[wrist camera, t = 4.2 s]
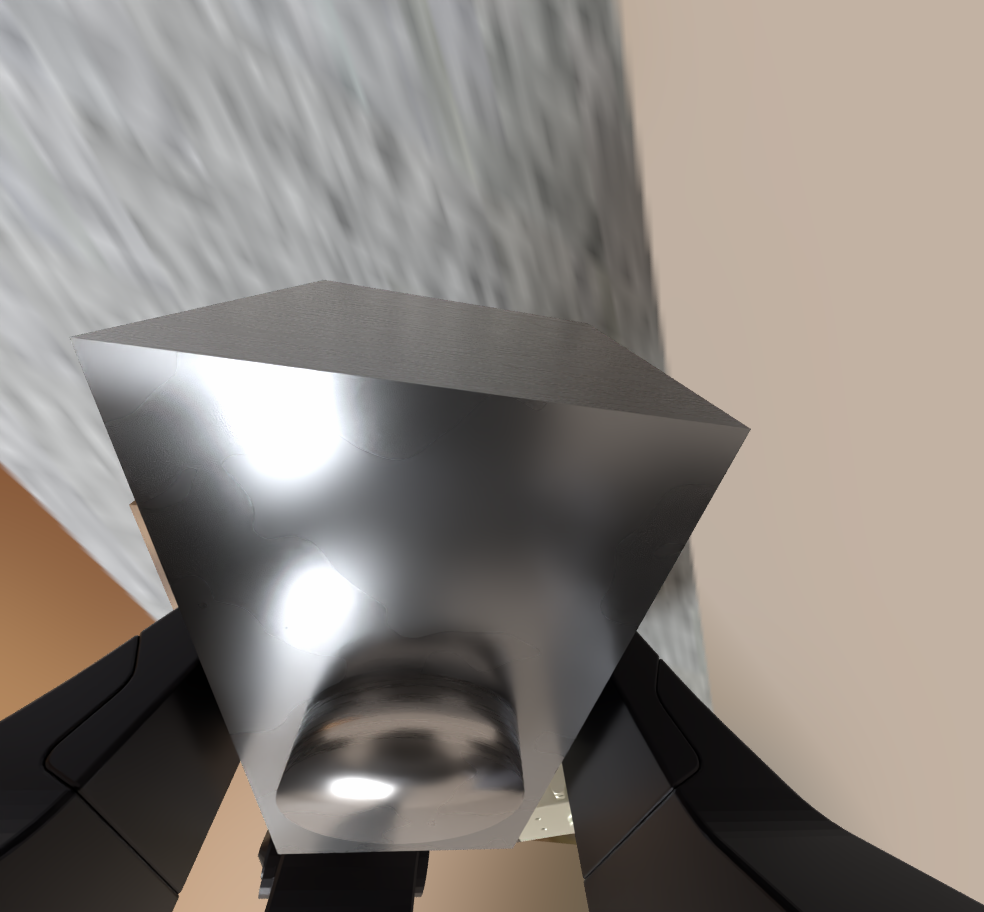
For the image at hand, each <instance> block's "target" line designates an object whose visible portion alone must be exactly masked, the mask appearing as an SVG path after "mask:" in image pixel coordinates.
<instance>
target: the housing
mask: <svg viewBox="0 0 984 912" xmlns="http://www.w3.org/2000/svg"><path fill="white" fill-rule="evenodd" d="M70 340H71V342H72V345H73V347H74V350H75V352H76V355H77V357H78V360H79V362H80V365H81V367H82V370H83V372H84V375H85V377H86V380H87V382H88V385H89V387H90V389H91V392H92V394H93V397H94V399H95V402H96V404H97V407H98V409H99V412H100V414H101V417H102V419H103V422H104V424H105V427H106V429H107V432H108V434H109V437H110V439H111V441H112V444H113V446H114V449H115V451H116V454H117V456H118V459H119V461H120V464H121V466H122V469H123V471H124V474H125V476H126V479H127V481H128V484H129V486H130V489H131V491H132V493H133V496H134V498H135V501H136V503H137V506H138V508H139V511H140V513H141V516H142V518H143V521H144V523H145V526H146V528H147V531H148V533H149V536H150V538H151V541H152V543H153V545H154V548H155V550H156V553H157V555H158V558H159V560H160V563H161V565H162V568H163V570H164V573H165V575H166V578H167V580H168V583H169V585H170V588H171V590H172V593H173V595H174V597H175V600H176V602H177V605H178V607H179V610H180V612H181V615H182V617H183V620H184V622H185V625H186V627H187V630H188V632H189V635H190V637H191V640H192V642H193V645H194V647H195V649H196V652H197V654H198V657H199V659H200V662H201V664H202V667H203V669H204V672H205V674H206V677H207V679H208V682H209V684H210V687H211V689H212V692H213V694H214V697H215V699H216V701H217V704H218V706H219V709H220V711H221V714H222V716H223V719H224V721H225V724H226V726H227V729H228V731H229V734H230V736H231V739H232V741H233V744H234V746H235V749H236V751H237V754H238V756H239V758H240V761H241V763H242V766H243V768H244V771H245V773H246V776H247V778H248V781H249V783H250V786H251V788H252V791H253V793H254V796H255V798H256V801H257V803H258V806H259V808H260V810H261V813H262V815H263V818H264V820H265V823H266V825H267V828H268V830H269V833H270V835H271V838H272V840H273V843H274V845H275V848H276V850H277V853H278V854H304V853H344V852H385V851H425V850H462V849H463V850H466V849H504V848H505V849H506V848H513V847H514V845H515V844H516V842H517V840H518V838H519V837H520V835H521V833H522V831H523V829H524V828H525V826H526V824H527V822H528V821H529V819H530V817H531V815H532V814H533V812H534V810H535V808H536V807H537V805H538V803H539V801H540V800H541V798H542V796H543V794H544V793H545V791H546V789H547V787H548V785H549V784H550V782H551V780H552V778H553V777H554V775H555V773H556V771H557V770H558V768H559V766H560V764H561V763H562V761H563V759H564V757H565V756H566V754H567V752H568V750H569V748H570V747H571V745H572V743H573V741H574V740H575V738H576V736H577V734H578V733H579V731H580V729H581V727H582V726H583V724H584V722H585V720H586V719H587V717H588V715H589V713H590V711H591V710H592V708H593V706H594V704H595V703H596V701H597V699H598V697H599V696H600V694H601V692H602V690H603V689H604V687H605V685H606V683H607V682H608V680H609V678H610V676H611V674H612V673H613V671H614V669H615V667H616V666H617V664H618V662H619V660H620V659H621V657H622V655H623V653H624V652H625V650H626V648H627V646H628V645H629V643H630V641H631V639H632V637H633V636H634V634H635V632H636V630H637V629H638V627H639V625H640V623H641V622H642V620H643V618H644V616H645V615H646V613H647V611H648V609H649V608H650V606H651V604H652V602H653V601H654V599H655V597H656V595H657V593H658V592H659V590H660V588H661V586H662V585H663V583H664V581H665V579H666V578H667V576H668V574H669V572H670V571H671V569H672V567H673V565H674V564H675V562H676V560H677V558H678V556H679V555H680V553H681V551H682V549H683V548H684V546H685V544H686V542H687V541H688V539H689V537H690V535H691V534H692V532H693V530H694V528H695V527H696V525H697V523H698V521H699V519H700V518H701V516H702V514H703V512H704V511H705V509H706V507H707V505H708V504H709V502H710V500H711V498H712V497H713V495H714V493H715V491H716V490H717V488H718V486H719V484H720V482H721V481H722V479H723V477H724V475H725V474H726V472H727V470H728V468H729V467H730V465H731V463H732V461H733V460H734V458H735V456H736V454H737V453H738V451H739V449H740V447H741V445H742V444H743V442H744V440H745V438H746V437H747V435H748V433H749V431H750V430H751V429H750V428H748V427H747V426H745V425H744V424H742V423H741V422H739V421H738V420H736V419H734V418H733V417H731V416H730V415H728V414H727V413H725V412H724V411H722V410H721V409H719V408H718V407H716V406H714V405H713V404H711V403H709V402H708V401H707V400H705V399H704V398H702V397H700V396H699V395H697V394H696V393H694V392H693V391H691V390H690V389H688V388H687V387H685V386H683V385H682V384H680V383H679V382H677V381H676V380H674V379H673V378H671V377H670V376H668V375H666V374H665V373H663V372H662V371H660V370H659V369H657V368H656V367H654V366H653V365H651V364H649V363H648V362H646V361H645V360H643V359H642V358H640V357H639V356H637V355H636V354H634V353H632V352H631V351H629V350H628V349H626V348H625V347H623V346H622V345H620V344H619V343H617V342H615V341H614V340H612V339H611V338H609V337H608V336H606V335H605V334H603V333H602V332H600V331H598V330H597V329H595V328H594V327H592V326H591V325H589V324H588V323H582V322H576V321H569V320H563V319H557V318H551V317H545V316H539V315H533V314H527V313H521V312H515V311H509V310H503V309H497V308H491V307H485V306H479V305H473V304H467V303H461V302H454V301H448V300H442V299H436V298H430V297H424V296H418V295H412V294H406V293H400V292H394V291H388V290H382V289H376V288H370V287H364V286H358V285H352V284H346V283H339V282H333V281H327V280H322V281H318V282H313V283H309V284H304V285H300V286H295V287H291V288H286V289H282V290H277V291H273V292H269V293H264V294H260V295H255V296H251V297H246V298H242V299H237V300H233V301H228V302H224V303H219V304H215V305H211V306H206V307H202V308H197V309H193V310H188V311H184V312H179V313H175V314H170V315H166V316H161V317H157V318H153V319H148V320H144V321H139V322H135V323H130V324H126V325H121V326H117V327H112V328H108V329H103V330H99V331H94V332H90V333H86V334H81V335H77V336H72V337H70Z"/></svg>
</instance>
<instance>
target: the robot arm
mask: <svg viewBox="0 0 984 912" xmlns="http://www.w3.org/2000/svg"><path fill="white" fill-rule="evenodd" d="M239 763H240V758H239V756H238V754H237V751H236V749H235V746H234V744H233V741H232V739H231V736H230V734H229V731H228V729H227V726H226V724H225V721H224V719H223V716H222V714H221V711H220V709H219V706H218V704H217V701H216V699H215V697H214V694H213V692H212V689H211V687H210V684H209V682H208V679H207V677H206V674H205V672H204V669H203V667H202V664H201V662H200V659H199V657H198V654H197V652H196V649H195V647H194V645H193V642H192V640H191V637H190V635H189V632H188V630H187V627H186V625H185V622H184V620H183V617H182V615H181V612H180V610H179V607H177V608H176V609H174V610H173V611H171V612H170V613H168V614H167V615H166V616H164V617H163V618H161V619H160V620H158V621H157V622H155V623H154V624H152V625H151V626H149V627H148V628H146V629H145V630H143V631H142V632H141V633H140V636H138V635H137V636H134V637H133V638H131V639H130V640H128V641H127V642H125V643H124V644H122V645H121V646H119V647H118V648H116V649H115V650H114V651H112V652H110V653H109V654H107V655H106V656H104V657H103V658H101V659H100V660H98V661H97V662H95V663H94V664H92V665H90V666H89V667H87V668H86V669H84V670H83V671H81V672H80V673H78V674H77V675H75V676H74V677H72V678H70V679H69V680H67V681H65V682H64V683H62V684H61V685H59V686H57V687H56V688H54V689H53V690H51V691H49V692H48V693H46V694H44V695H43V696H41V697H40V698H38V699H36V700H35V701H33V702H31V703H30V704H28V705H26V706H25V707H23V708H21V709H20V710H18V711H17V712H15V713H13V714H12V715H10V716H8V717H6V718H5V719H3V720H1V721H0V912H172V911H173V909H174V907H175V904H176V902H177V900H178V898H179V895H178V894H179V893H180V892H181V890H182V888H183V886H184V884H185V882H186V880H187V877H188V875H189V873H190V871H191V869H192V866H193V864H194V862H195V860H196V858H197V855H198V853H199V851H200V849H201V847H202V844H203V842H204V840H205V838H206V835H207V833H208V831H209V829H210V827H211V825H212V822H213V820H214V818H215V816H216V814H217V811H218V809H219V807H220V805H221V802H222V800H223V798H224V796H225V794H226V791H227V789H228V787H229V785H230V783H231V780H232V778H233V776H234V774H235V772H236V769H237V767H238V765H239ZM562 767H563V773H564V778H565V783H566V789H567V794H568V799H569V805H570V810H571V816H572V821H573V826H574V832H575V837H576V842H577V848H578V853H579V859H580V864H581V869H582V874H583V878H584V879H585V880H584V887H585V892H586V897H587V903H588V908H589V912H984V905H983V904H981V903H979V902H977V901H976V900H974V899H972V898H970V897H968V896H966V895H965V894H963V893H961V892H958V891H957V890H955V889H953V888H952V887H950V886H947V885H946V884H944V883H942V882H940V881H939V880H937V879H935V878H933V877H931V876H929V875H927V874H925V873H924V872H922V871H920V870H918V869H916V868H914V867H913V866H911V865H909V864H907V863H905V862H903V861H901V860H900V859H898V858H896V857H894V856H892V855H890V854H889V853H886V852H885V851H883V850H881V849H879V848H877V847H876V846H874V845H872V844H870V843H868V842H866V841H864V840H863V839H861V838H859V837H857V836H855V835H853V834H851V833H850V832H848V831H846V830H844V829H843V828H841V827H840V826H838V825H837V824H835V823H834V822H832V821H831V820H829V819H828V818H826V817H825V816H824V815H822V814H821V813H820V812H818V811H817V810H816V809H814V808H813V807H812V806H811V805H809V804H808V803H807V802H806V801H805V800H803V799H802V798H801V797H800V796H799V795H798V794H797V793H796V792H794V791H793V790H792V789H791V788H790V787H789V786H788V785H787V784H786V783H785V782H784V781H783V780H782V779H781V778H780V777H779V776H778V775H777V774H776V773H775V772H774V771H772V770H771V769H770V768H769V767H768V766H767V765H766V764H765V763H764V762H763V761H762V760H761V759H760V758H759V757H758V756H757V755H756V754H755V753H754V752H753V751H752V750H751V749H750V748H749V747H748V746H746V745H745V744H744V743H743V742H742V741H741V740H740V739H739V738H738V737H737V736H736V735H735V734H734V733H733V732H732V731H731V730H730V729H729V728H728V727H727V726H726V725H725V724H724V723H722V721H721V720H720V719H719V718H717V716H716V715H715V714H714V713H713V712H712V711H711V710H710V709H709V708H708V707H707V706H706V705H705V704H704V703H703V702H702V701H701V700H700V699H699V698H698V697H697V696H696V695H695V694H694V693H693V692H692V691H691V690H690V689H689V688H688V687H687V686H686V685H685V684H684V683H683V682H682V680H681V679H680V678H679V677H678V676H677V675H676V674H675V673H674V672H673V671H672V670H671V669H670V667H669V666H668V665H667V664H666V663H665V662H664V661H663V660H662V659H659V656H658V654H657V653H656V652H655V651H654V650H653V649H652V648H651V647H650V645H649V644H648V643H647V642H646V641H645V640H644V639H643V638H642V637H641V636H640V634H639V633H638V632H637V631H636V632H635V634H634V636H633V637H632V639H631V641H630V643H629V645H628V646H627V648H626V650H625V652H624V653H623V655H622V657H621V659H620V660H619V662H618V664H617V666H616V667H615V669H614V671H613V673H612V674H611V676H610V678H609V680H608V682H607V683H606V685H605V687H604V689H603V690H602V692H601V694H600V696H599V697H598V699H597V701H596V703H595V704H594V706H593V708H592V710H591V711H590V713H589V715H588V717H587V719H586V720H585V722H584V724H583V726H582V727H581V729H580V731H579V733H578V734H577V736H576V738H575V740H574V741H573V743H572V745H571V747H570V748H569V750H568V752H567V754H566V756H565V757H564V759H563V761H562ZM258 857H259V860H260V862H261V865H262V867H263V868H262V873H261V879H262V881H261V885H260V890H259V897H258V898H259V899H268V902H267V906H266V909H265V912H413V905H414V897H421V896H422V893H423V890H424V886H425V880H426V874H427V868H428V860H429V850H425V851H385V852H344V853H304V854H278V853H277V850H276V848H275V845H274V843H273V840H272V838H271V835H270V833H269V830H268V831H267V833H266V835H265V837H264V840H263V842H262V844H261V847H260V850H259V854H258Z"/></svg>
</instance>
